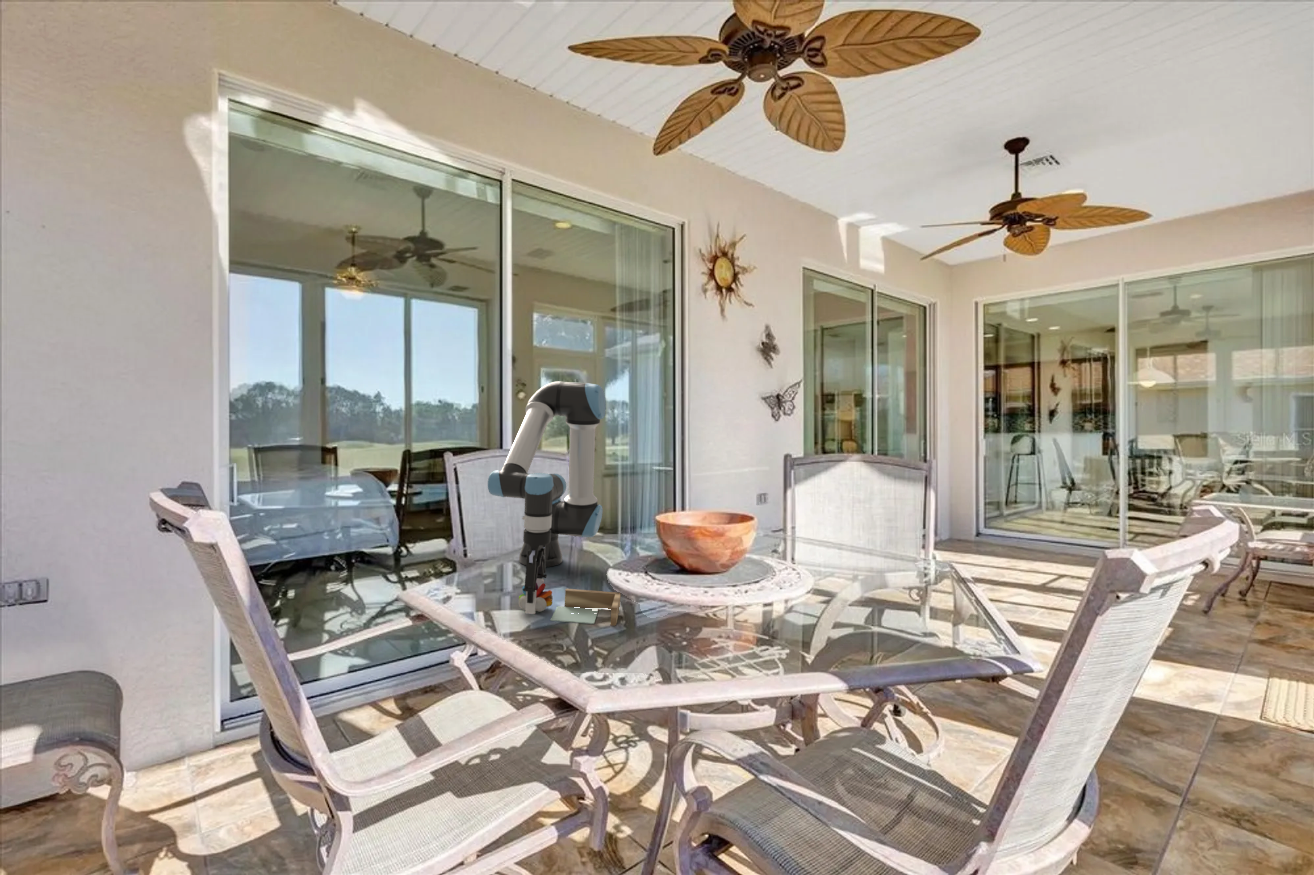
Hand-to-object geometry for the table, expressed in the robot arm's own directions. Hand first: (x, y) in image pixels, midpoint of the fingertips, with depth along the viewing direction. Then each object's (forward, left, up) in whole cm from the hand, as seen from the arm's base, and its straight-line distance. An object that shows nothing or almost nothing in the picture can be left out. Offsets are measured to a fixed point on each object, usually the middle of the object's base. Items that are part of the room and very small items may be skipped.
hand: (534, 606), depth 176 cm
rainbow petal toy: (0, 0, 0) cm, 0 cm away
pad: (+1, +12, -1) cm, 12 cm away
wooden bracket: (0, +16, -1) cm, 16 cm away
